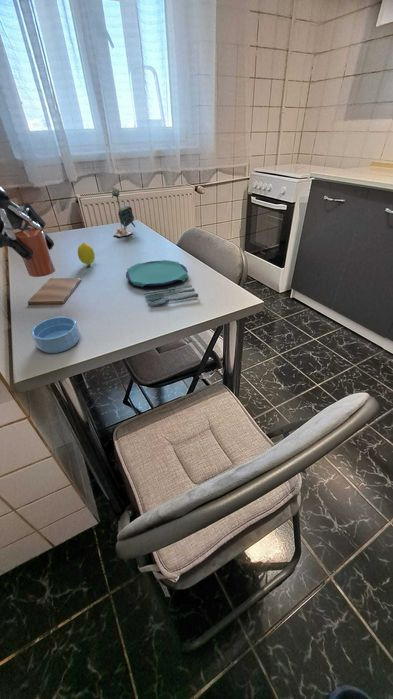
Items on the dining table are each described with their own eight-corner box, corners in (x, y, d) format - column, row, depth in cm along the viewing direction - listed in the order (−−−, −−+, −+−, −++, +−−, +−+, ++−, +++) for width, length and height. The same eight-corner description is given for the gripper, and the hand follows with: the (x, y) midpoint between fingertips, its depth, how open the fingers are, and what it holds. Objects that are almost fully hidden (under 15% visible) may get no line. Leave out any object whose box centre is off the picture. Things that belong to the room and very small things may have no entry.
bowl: (49, 360, 63) (42, 344, 60) (30, 342, 68) (24, 328, 66) (88, 340, 68) (84, 326, 66) (68, 326, 73) (63, 312, 71)
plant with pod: (139, 234, 136) (133, 185, 124) (115, 238, 132) (106, 188, 120) (134, 230, 142) (127, 183, 130) (111, 234, 138) (102, 185, 126)
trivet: (63, 304, 83) (62, 300, 82) (28, 304, 83) (27, 301, 82) (81, 280, 96) (80, 277, 95) (51, 281, 96) (50, 278, 95)
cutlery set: (178, 262, 106) (178, 256, 105) (205, 299, 83) (205, 291, 82) (123, 270, 102) (122, 264, 100) (135, 311, 79) (134, 303, 77)
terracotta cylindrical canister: (35, 279, 63) (19, 238, 58) (24, 272, 66) (9, 233, 61) (60, 271, 66) (47, 232, 61) (48, 265, 69) (36, 227, 64)
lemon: (94, 268, 104) (88, 245, 99) (78, 268, 104) (72, 245, 99) (98, 262, 108) (93, 240, 104) (84, 262, 109) (78, 240, 104)
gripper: (-60, 177, 51) (20, 252, 55) (7, 167, 62) (70, 230, 66) (-64, 208, 56) (10, 275, 60) (-1, 194, 67) (58, 251, 71)
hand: (41, 251), depth 63 cm, fingers closed on terracotta cylindrical canister, 5 cm apart
